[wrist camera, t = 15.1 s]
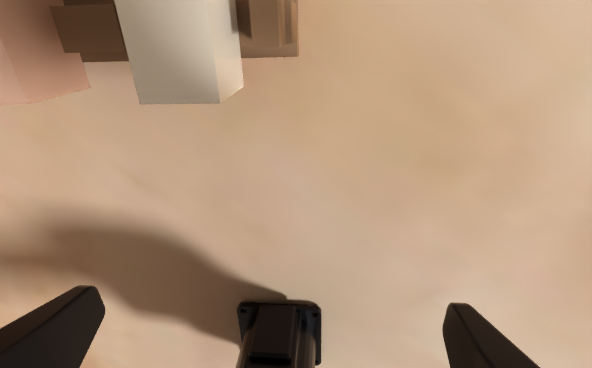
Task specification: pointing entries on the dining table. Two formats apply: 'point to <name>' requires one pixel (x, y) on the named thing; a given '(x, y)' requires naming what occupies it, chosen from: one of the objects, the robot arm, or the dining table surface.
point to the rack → (111, 47)
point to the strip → (182, 49)
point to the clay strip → (35, 54)
